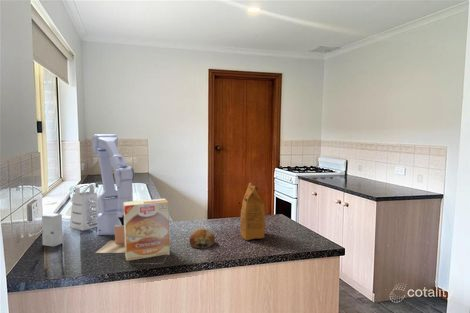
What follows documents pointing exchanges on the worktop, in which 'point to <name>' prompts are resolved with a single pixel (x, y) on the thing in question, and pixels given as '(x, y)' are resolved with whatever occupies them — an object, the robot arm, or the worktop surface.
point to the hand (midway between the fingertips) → (126, 230)
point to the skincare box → (52, 229)
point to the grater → (84, 209)
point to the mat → (112, 248)
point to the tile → (119, 234)
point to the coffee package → (252, 215)
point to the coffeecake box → (146, 228)
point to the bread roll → (202, 238)
